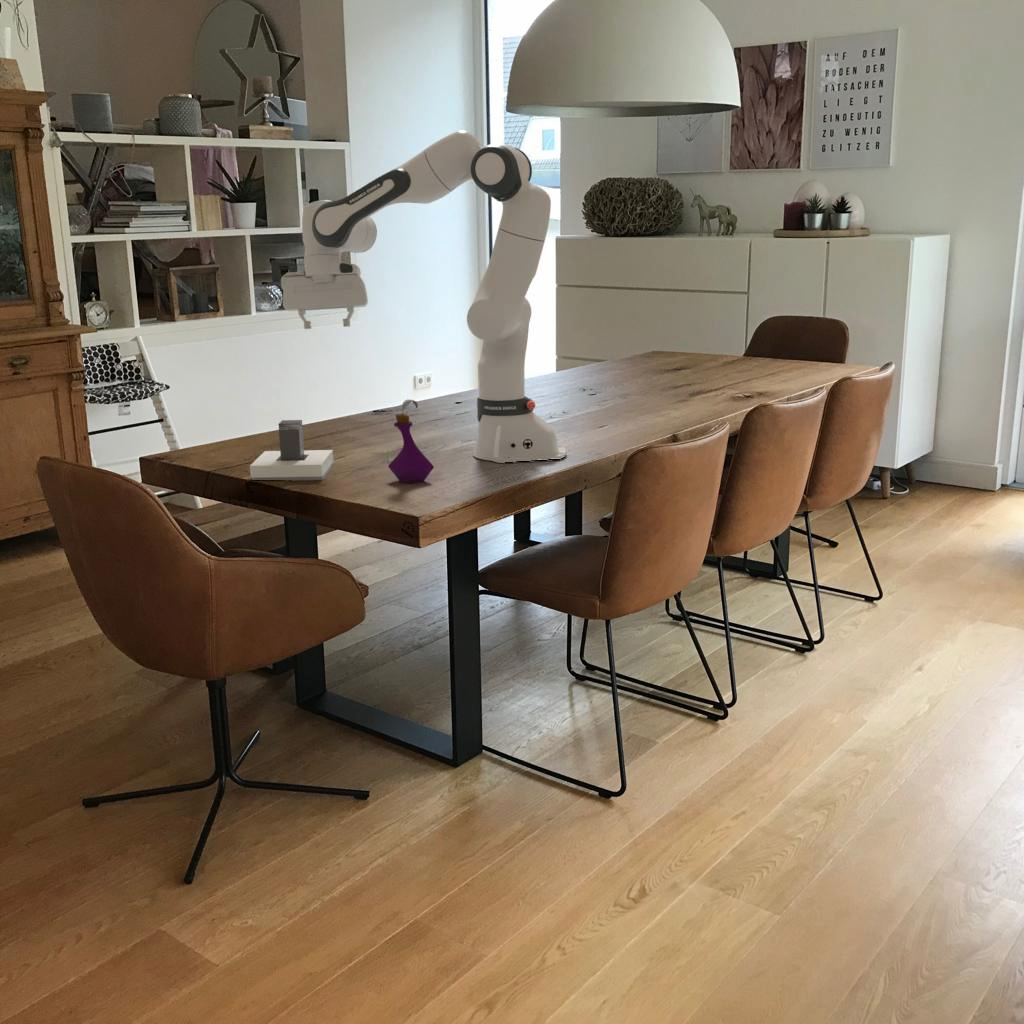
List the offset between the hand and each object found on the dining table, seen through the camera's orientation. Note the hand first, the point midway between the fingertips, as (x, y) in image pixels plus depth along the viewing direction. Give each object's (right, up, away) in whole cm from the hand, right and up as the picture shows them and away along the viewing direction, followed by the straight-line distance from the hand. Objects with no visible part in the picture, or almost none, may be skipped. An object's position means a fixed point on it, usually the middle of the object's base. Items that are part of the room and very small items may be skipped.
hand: (327, 327), depth 276 cm
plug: (-6, -35, -14) cm, 38 cm away
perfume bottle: (+22, -38, -23) cm, 50 cm away
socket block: (-6, -36, -14) cm, 38 cm away
